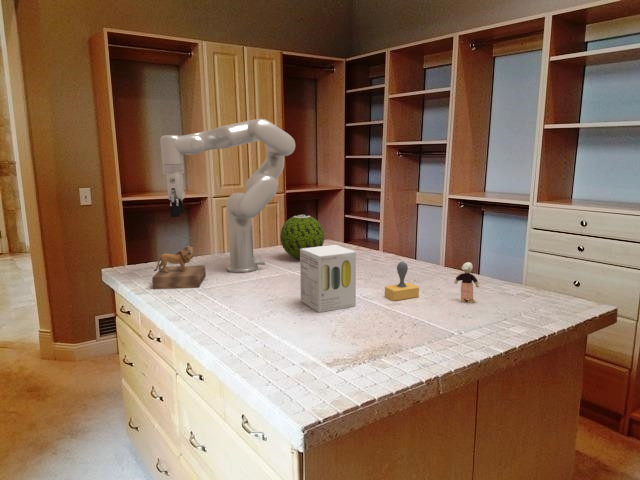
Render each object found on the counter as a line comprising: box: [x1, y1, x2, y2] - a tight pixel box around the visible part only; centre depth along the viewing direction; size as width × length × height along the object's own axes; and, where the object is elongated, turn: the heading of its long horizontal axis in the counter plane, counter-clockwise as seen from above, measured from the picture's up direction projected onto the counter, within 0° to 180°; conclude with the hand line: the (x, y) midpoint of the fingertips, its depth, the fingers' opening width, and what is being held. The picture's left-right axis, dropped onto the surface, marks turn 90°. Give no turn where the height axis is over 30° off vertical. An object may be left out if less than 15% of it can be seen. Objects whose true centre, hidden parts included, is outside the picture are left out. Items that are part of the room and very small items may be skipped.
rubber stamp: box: [384, 261, 420, 302], centre depth 153 cm, size 10×6×12 cm, turn 115°
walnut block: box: [151, 264, 207, 290], centre depth 174 cm, size 16×16×5 cm
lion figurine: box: [153, 245, 195, 273], centre depth 173 cm, size 15×5×9 cm, turn 110°
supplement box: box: [299, 244, 357, 313], centre depth 146 cm, size 13×13×18 cm
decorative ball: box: [280, 214, 325, 260], centre depth 210 cm, size 20×20×20 cm
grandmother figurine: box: [453, 261, 480, 304], centre depth 148 cm, size 8×4×13 cm, turn 71°
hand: (177, 215), depth 176 cm, fingers open, 9 cm apart
